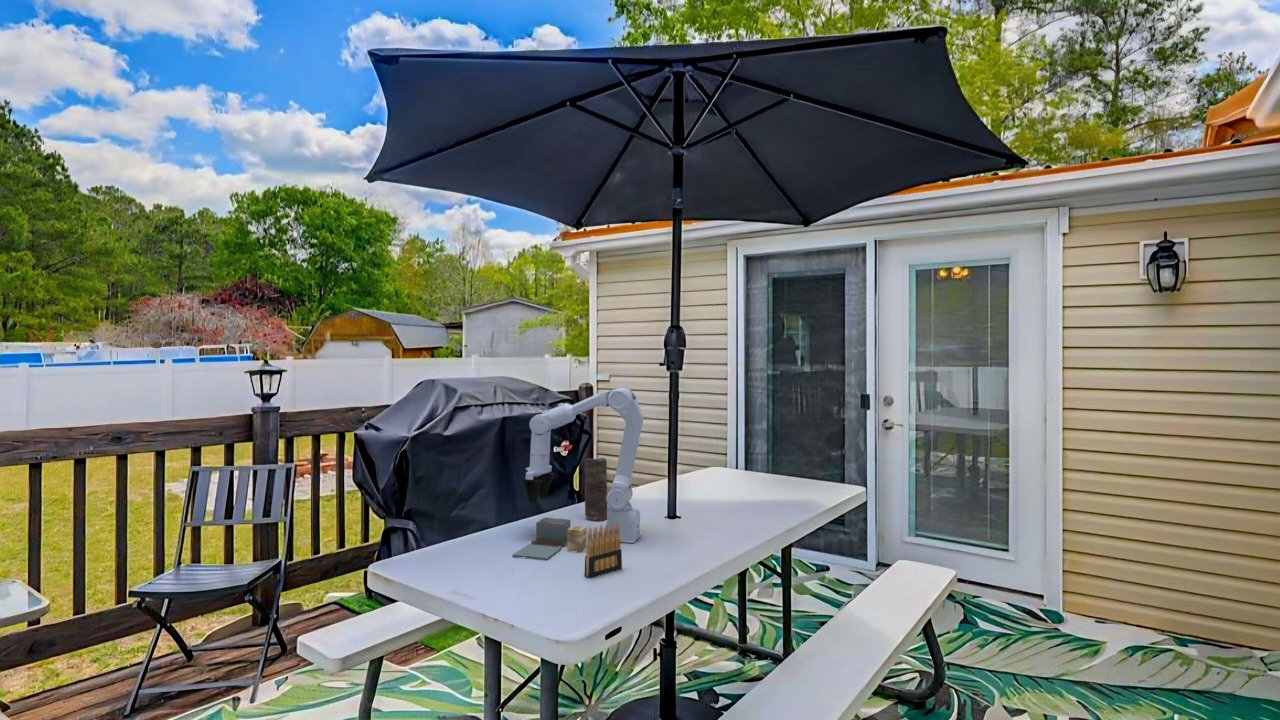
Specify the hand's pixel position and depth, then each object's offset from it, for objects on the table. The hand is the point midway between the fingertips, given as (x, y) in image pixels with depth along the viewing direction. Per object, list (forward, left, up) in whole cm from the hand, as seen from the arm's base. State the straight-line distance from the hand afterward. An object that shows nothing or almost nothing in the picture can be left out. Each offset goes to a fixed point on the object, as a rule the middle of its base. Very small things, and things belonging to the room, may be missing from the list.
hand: (537, 499), depth 201 cm
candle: (-11, -23, -11) cm, 27 cm away
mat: (-8, +17, -10) cm, 21 cm away
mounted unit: (-8, +6, -10) cm, 14 cm away
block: (-17, +11, -10) cm, 22 cm away
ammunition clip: (-30, +27, -11) cm, 42 cm away
